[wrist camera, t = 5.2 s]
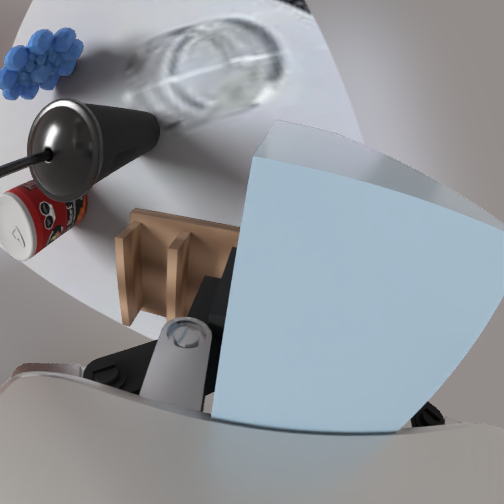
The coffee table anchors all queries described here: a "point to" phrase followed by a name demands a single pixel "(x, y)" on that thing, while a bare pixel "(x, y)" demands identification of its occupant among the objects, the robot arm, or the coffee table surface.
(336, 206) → the light blue square slab
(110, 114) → the drinking cup
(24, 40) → the coffee table surface
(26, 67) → the grapes
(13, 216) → the canned food
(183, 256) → the dish rack
